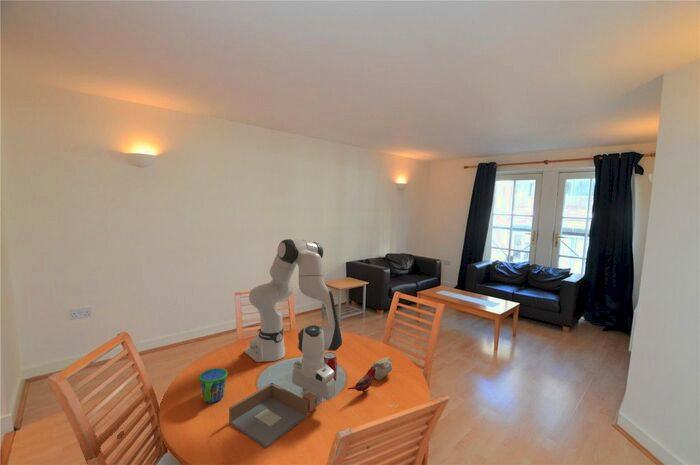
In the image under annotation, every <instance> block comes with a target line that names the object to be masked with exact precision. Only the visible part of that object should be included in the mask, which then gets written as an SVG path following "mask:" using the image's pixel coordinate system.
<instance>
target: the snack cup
mask: <svg viewBox="0 0 700 465" xmlns="http://www.w3.org/2000/svg"><path fill="white" fill-rule="evenodd" d="M227 377H228V371H227V369H225V368H221V367H216V368H215V367H214V368H210V369H207V370H205V371H202V373H200V375H199V377H198V381H199V383H200V388H201V392H202V393H201V394H202V398H203V401H204V402H205V403H210V404H212V403H216V402H218V401H221V400H222V398H223V397H224V396H225V389H226V382H227Z"/></svg>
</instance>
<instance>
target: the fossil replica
mask: <svg viewBox="0 0 700 465" xmlns="http://www.w3.org/2000/svg"><path fill="white" fill-rule="evenodd" d="M371 367H375V369H376V372H375V376H374V379H375V380H377V381H381V380H382V379H383V378H384V377H386V376H387V375H388V374H389V373H391V372H392V370H393V365H392V359H391V358H390V357H382V358H381V359H380V358H379V360H377V361H376V362H374V363H372V364H371V366H370V368H371Z"/></svg>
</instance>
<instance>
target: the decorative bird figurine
mask: <svg viewBox="0 0 700 465" xmlns="http://www.w3.org/2000/svg"><path fill="white" fill-rule="evenodd" d="M375 372H376V369H375V367H371V366H370V368H369V369H368V371H367V372H366V374H364V375H363V377H361V378H360V379H359V380H358V382H357V383H356V384H355V385H353V386H350V387H348V388H347V390H355V391H357V392H362V395H363V394H365V393H368V391H369V390H370V389H369V388H370V387H371V385H372V384H373V382H374V379H375V378H374V376H375Z"/></svg>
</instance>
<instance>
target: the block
mask: <svg viewBox="0 0 700 465" xmlns="http://www.w3.org/2000/svg"><path fill="white" fill-rule="evenodd" d="M302 398H303V399H305V400H307V401H308V412H311V411H313V410H314V409H316V408H317V407H319V405H321V404H322V403H323V398H321V403H320V404H319V405H317V404H315V400H316V399H317V398H318V397H317V395H316V394H313V393H311V392H309V391H308V393H306V394H305V395H304V394H303V395H302Z"/></svg>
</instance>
